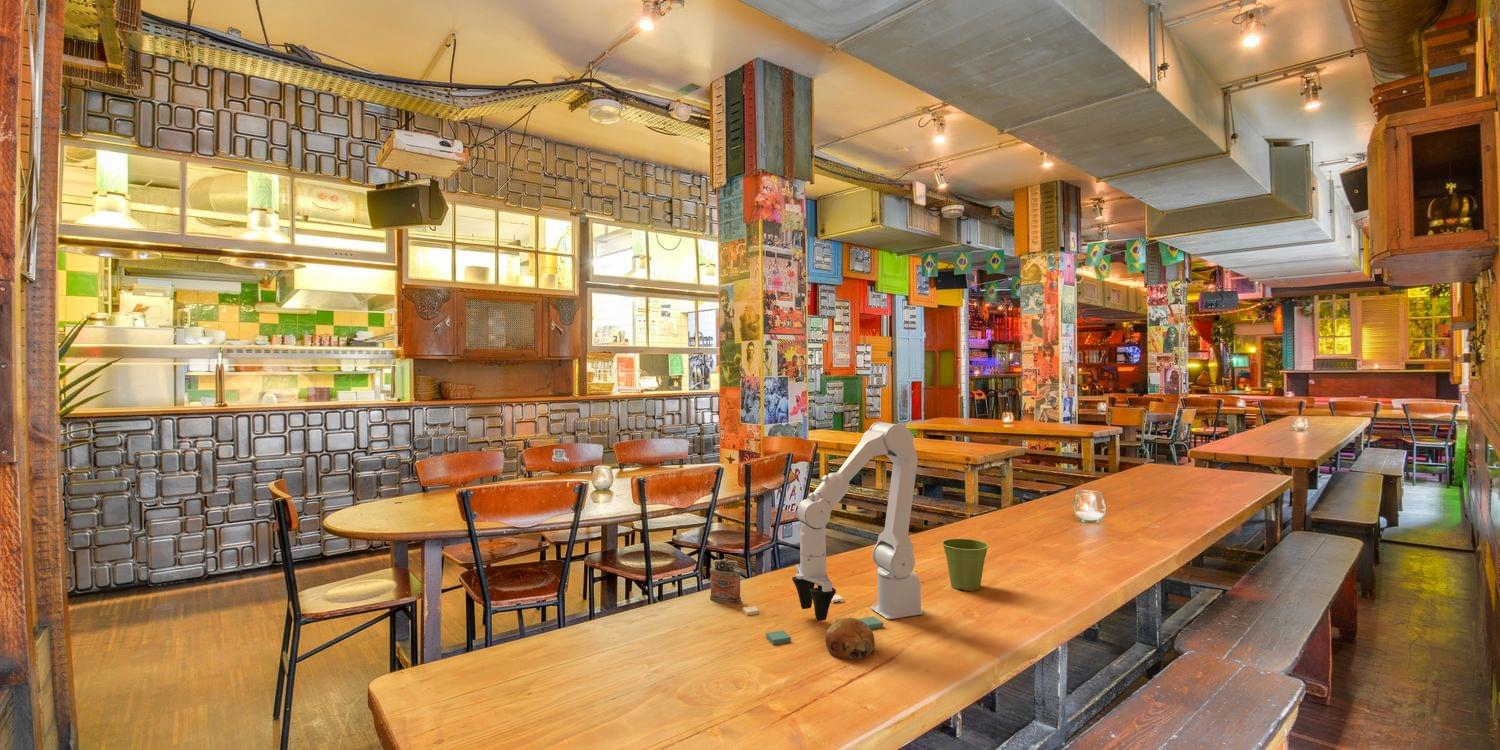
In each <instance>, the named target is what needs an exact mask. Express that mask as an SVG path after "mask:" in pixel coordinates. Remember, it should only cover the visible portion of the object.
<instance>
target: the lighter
mask: <svg viewBox="0 0 1500 750" xmlns="http://www.w3.org/2000/svg"><path fill="white" fill-rule="evenodd" d="M713 563H714V564H713V565H714V566H713V567H711V568H709V573H710V595H709V600H710V601H714V602H718V603H724V604H740V603H742V598H741V575H742V574H741V573H742V572H741V570H740V569H736V568H738V567H739V562H738V561H737V560H731V559H730V560H728V559H727V558H723V559H715V560H714V562H713Z"/></svg>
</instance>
